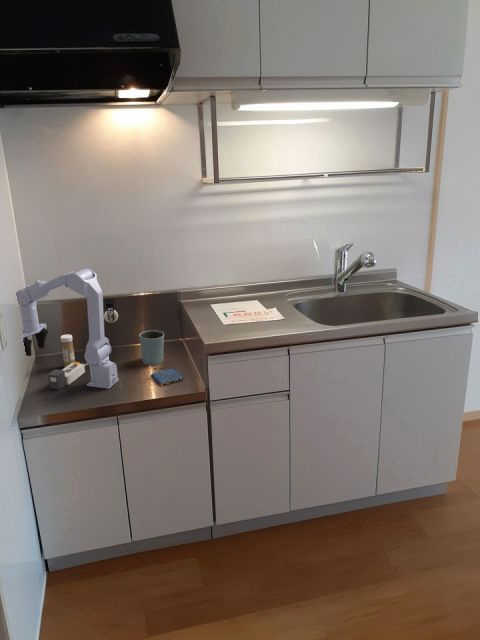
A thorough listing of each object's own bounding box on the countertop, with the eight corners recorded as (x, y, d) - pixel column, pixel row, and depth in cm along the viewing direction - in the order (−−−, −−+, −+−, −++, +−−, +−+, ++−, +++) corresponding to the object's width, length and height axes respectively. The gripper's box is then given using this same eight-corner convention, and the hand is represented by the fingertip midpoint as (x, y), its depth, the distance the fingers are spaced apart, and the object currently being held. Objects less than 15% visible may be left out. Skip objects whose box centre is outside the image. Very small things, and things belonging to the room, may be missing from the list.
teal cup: (138, 358, 218) (136, 332, 214) (161, 354, 222) (160, 328, 218) (144, 367, 209) (142, 340, 205) (168, 363, 213) (167, 336, 209)
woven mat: (185, 381, 199) (185, 376, 198) (160, 388, 193) (160, 383, 193) (174, 371, 207) (174, 366, 206) (149, 377, 202) (149, 373, 201)
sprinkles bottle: (77, 367, 210) (73, 336, 206) (66, 369, 208) (61, 339, 203) (73, 363, 214) (70, 333, 209) (62, 365, 212) (58, 335, 207)
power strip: (94, 364, 212) (93, 355, 211) (68, 384, 195) (67, 375, 194) (82, 363, 214) (81, 354, 212) (55, 383, 197) (54, 373, 195)
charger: (69, 382, 197) (67, 368, 195) (59, 389, 191) (57, 375, 189) (60, 380, 198) (58, 367, 196) (49, 388, 192) (47, 374, 190)
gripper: (33, 311, 203) (38, 343, 208) (7, 324, 190) (13, 357, 195) (49, 313, 201) (53, 345, 206) (23, 326, 188) (29, 360, 193)
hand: (35, 351), depth 200 cm, fingers open, 7 cm apart
